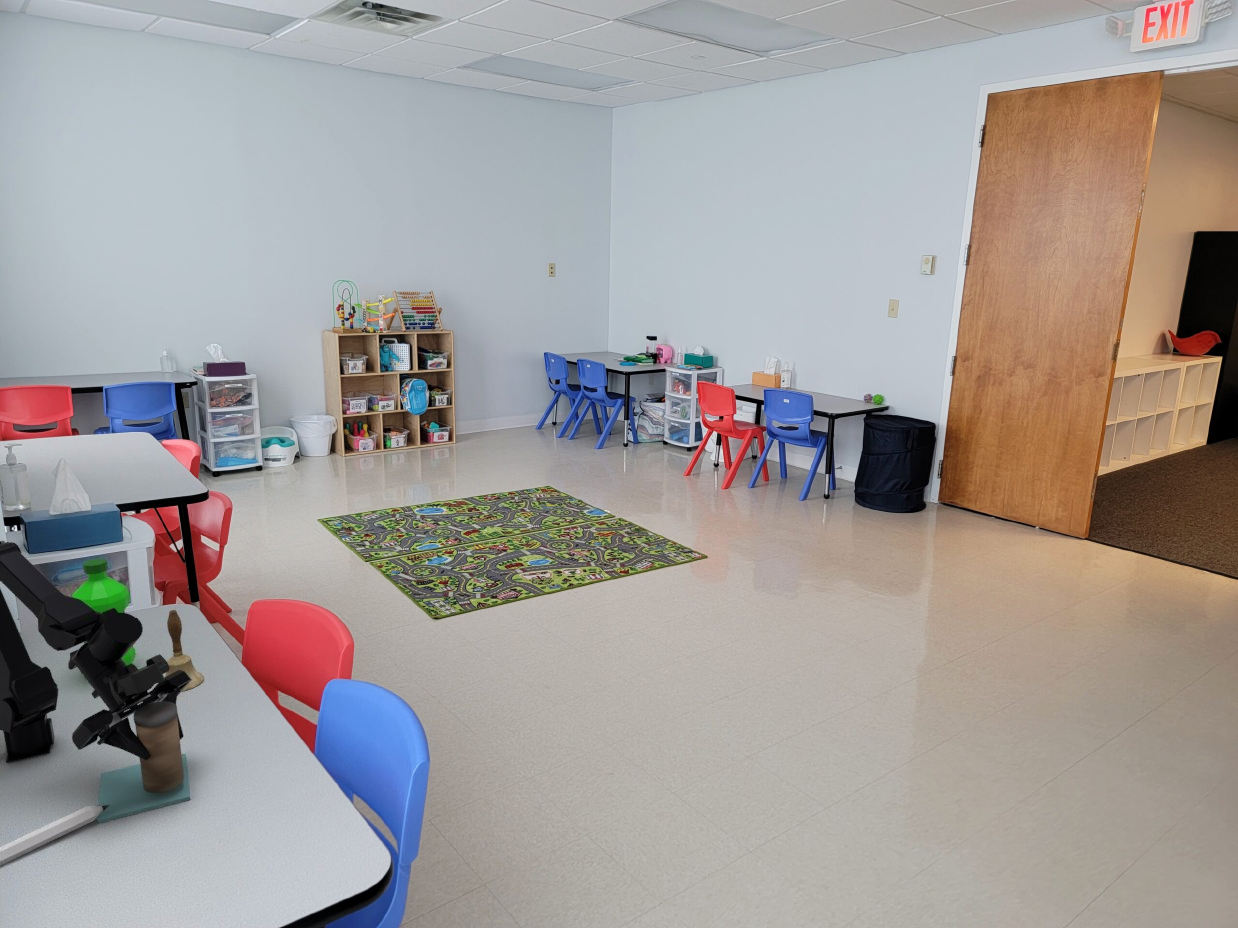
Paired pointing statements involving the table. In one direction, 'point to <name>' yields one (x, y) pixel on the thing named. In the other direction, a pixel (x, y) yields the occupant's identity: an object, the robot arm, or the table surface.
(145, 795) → the mat
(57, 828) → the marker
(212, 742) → the table surface
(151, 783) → the brown upright cylinder
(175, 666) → the hand bell
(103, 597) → the plastic bottle
